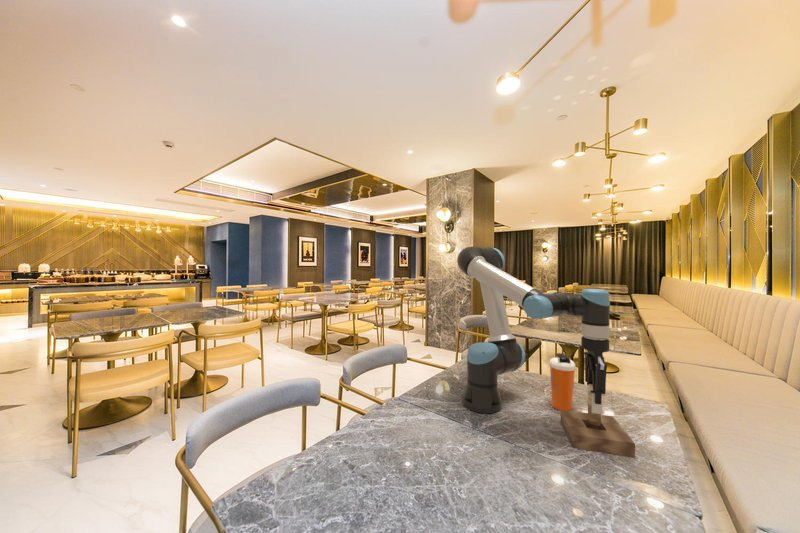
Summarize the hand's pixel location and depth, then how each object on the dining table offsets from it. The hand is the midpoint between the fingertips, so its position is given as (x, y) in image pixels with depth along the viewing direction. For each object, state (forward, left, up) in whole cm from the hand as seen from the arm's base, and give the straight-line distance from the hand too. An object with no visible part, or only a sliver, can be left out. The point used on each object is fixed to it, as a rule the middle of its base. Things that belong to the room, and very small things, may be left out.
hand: (594, 409), depth 96 cm
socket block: (0, 0, -9) cm, 9 cm away
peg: (0, 0, -4) cm, 4 cm away
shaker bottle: (-5, +20, -9) cm, 23 cm away
